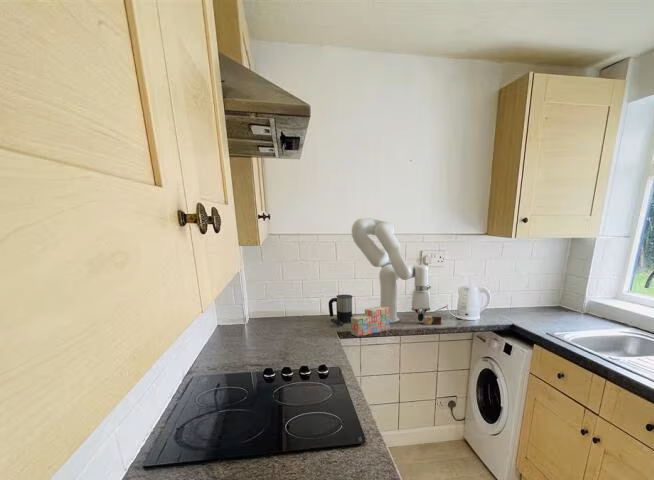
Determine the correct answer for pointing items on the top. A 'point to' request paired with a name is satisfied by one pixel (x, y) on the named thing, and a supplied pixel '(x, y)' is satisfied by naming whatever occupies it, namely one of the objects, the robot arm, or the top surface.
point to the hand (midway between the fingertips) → (420, 320)
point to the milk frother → (341, 309)
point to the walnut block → (436, 319)
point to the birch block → (427, 320)
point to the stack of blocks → (371, 321)
